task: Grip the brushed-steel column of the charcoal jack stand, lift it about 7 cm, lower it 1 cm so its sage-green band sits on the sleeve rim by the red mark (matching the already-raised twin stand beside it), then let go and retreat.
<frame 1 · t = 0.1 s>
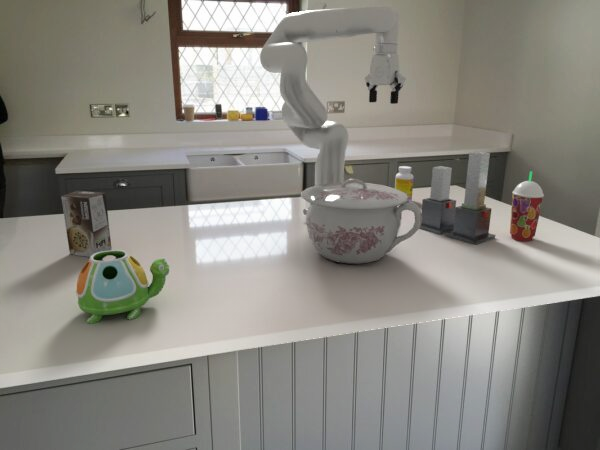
hand: (383, 102, 172), 37 cm above the counter, tool pointing down, fingers open, 9 cm apart
turtle holder: (123, 309, 102), on the counter
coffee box: (91, 253, 134), on the counter
column: (439, 196, 155), point 10 cm above the counter, slide at 0.0 cm
supplement bottle: (402, 201, 191), on the counter
twin stand: (470, 237, 149), on the counter
smoothie: (521, 239, 148), on the counter
stand sleeve: (436, 227, 157), on the counter
chamber pot: (352, 256, 133), on the counter
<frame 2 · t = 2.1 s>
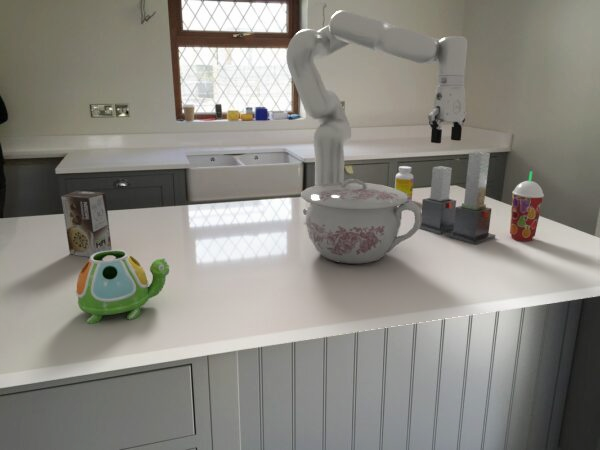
hand: (445, 141, 150), 27 cm above the counter, tool pointing down, fingers open, 9 cm apart
nothing on the counter moved.
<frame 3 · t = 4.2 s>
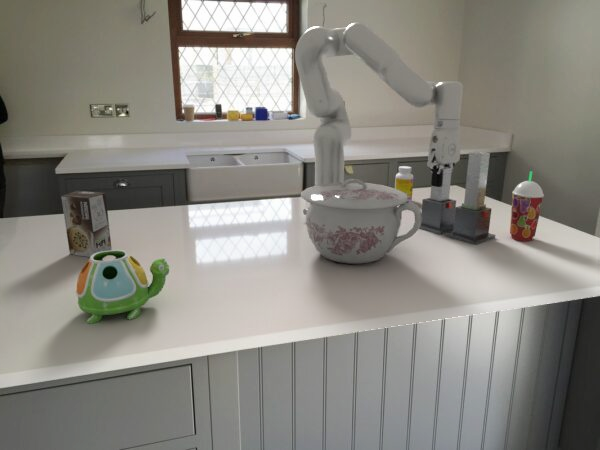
hand: (440, 184, 154), 14 cm above the counter, tool pointing down, fingers closed on column, 4 cm apart
column: (439, 196, 155), point 10 cm above the counter, slide at 0.0 cm, touching gripper
everything else where it was.
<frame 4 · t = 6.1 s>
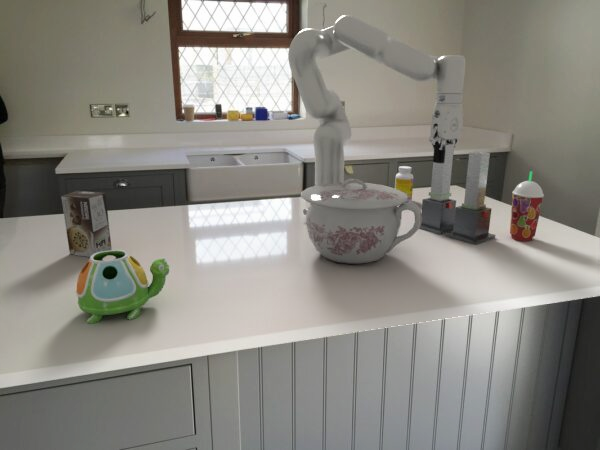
hand: (442, 161, 151), 21 cm above the counter, tool pointing down, fingers closed on column, 4 cm apart
column: (441, 173, 152), point 17 cm above the counter, slide at 7.2 cm, touching gripper
everything else where it was.
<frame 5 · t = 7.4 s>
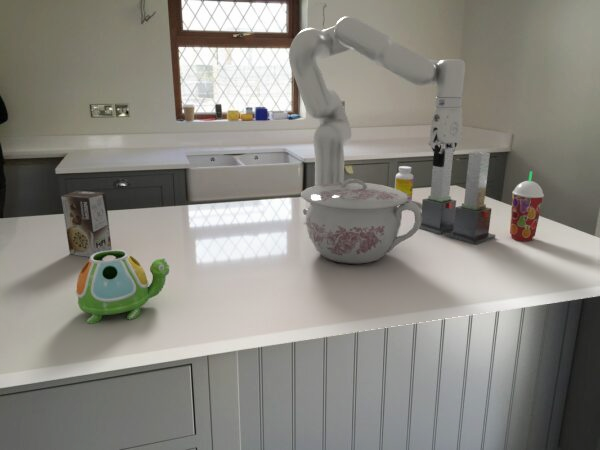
hand: (442, 165, 152), 20 cm above the counter, tool pointing down, fingers closed on column, 4 cm apart
column: (441, 177, 153), point 16 cm above the counter, slide at 6.1 cm, touching gripper
everything else where it was.
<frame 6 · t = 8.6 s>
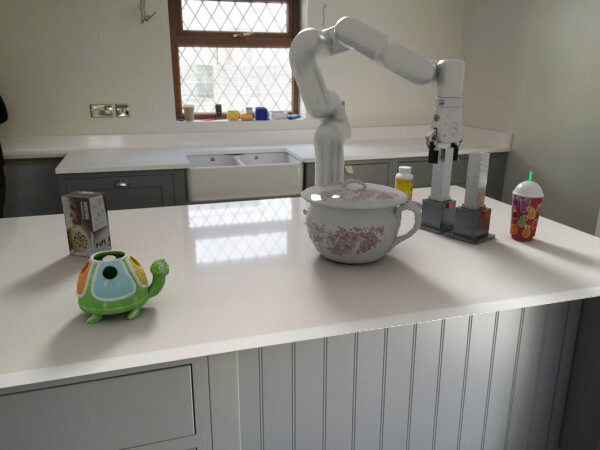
hand: (442, 161, 151), 21 cm above the counter, tool pointing down, fingers open, 9 cm apart
column: (441, 177, 153), point 16 cm above the counter, slide at 6.1 cm
everything else where it was.
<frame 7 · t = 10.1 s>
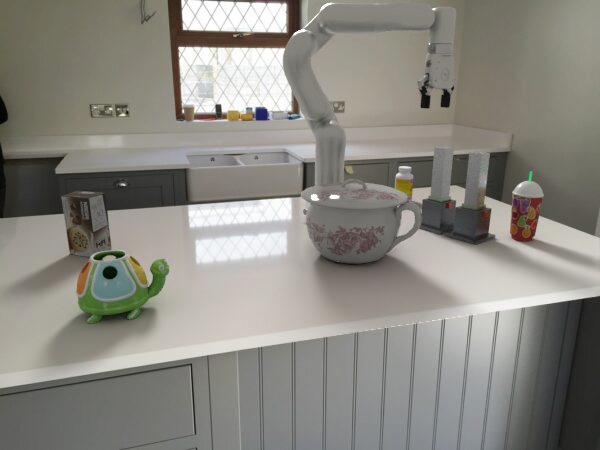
hand: (435, 107, 159), 36 cm above the counter, tool pointing down, fingers open, 9 cm apart
nothing on the counter moved.
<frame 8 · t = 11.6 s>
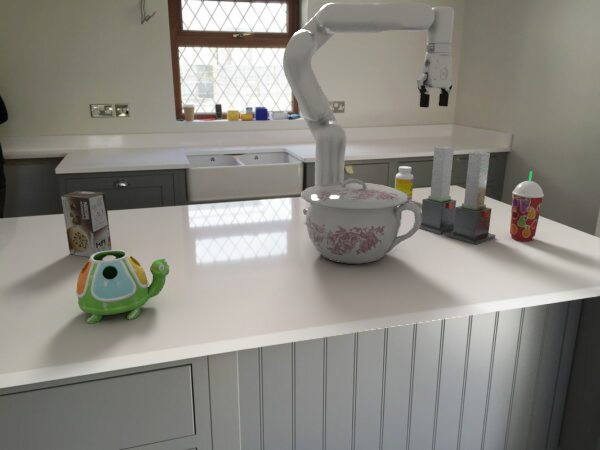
hand: (433, 106, 160), 36 cm above the counter, tool pointing down, fingers open, 9 cm apart
nothing on the counter moved.
at the end: column slide at 6.1 cm; the gripper is holding nothing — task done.
